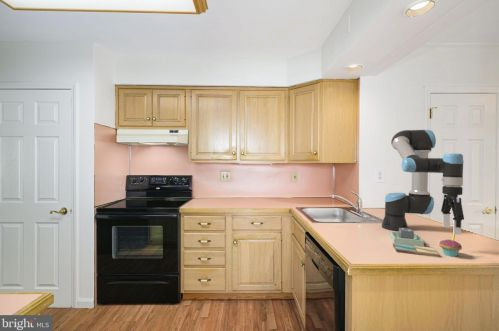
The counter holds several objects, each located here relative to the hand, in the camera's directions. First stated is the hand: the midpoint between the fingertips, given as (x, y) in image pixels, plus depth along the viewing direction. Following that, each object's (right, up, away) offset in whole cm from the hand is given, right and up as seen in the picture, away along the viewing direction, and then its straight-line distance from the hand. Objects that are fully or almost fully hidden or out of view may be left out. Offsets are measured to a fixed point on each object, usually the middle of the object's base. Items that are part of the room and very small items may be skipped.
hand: (451, 230), depth 122 cm
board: (-14, -12, +6) cm, 19 cm away
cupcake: (0, -12, +1) cm, 12 cm away
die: (-9, -11, +20) cm, 25 cm away
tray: (-9, -11, +21) cm, 25 cm away
